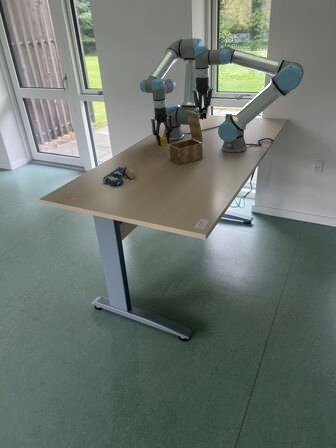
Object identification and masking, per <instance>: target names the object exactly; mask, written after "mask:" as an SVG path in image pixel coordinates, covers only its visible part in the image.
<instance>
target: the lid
mask: <svg viewBox="0 0 336 448" xmlns="http://www.w3.org/2000/svg"><path fill="white" fill-rule="evenodd" d="M197 112H199V110H198V111H196V112H193V111H190V110H187V116H188V121H189V125H188V127H189V131H190V133H191V134H190V136H191V139H194V140H196V141H199V142H201V143H204V139H203V138H204V137H203V133H202V132H203V131H201V130H202V128H201V121H200V119H199V115H201V114H203V113H207V114H208V110H207V111H206V110H203V112H202V113H200V114H198V113H197Z"/></svg>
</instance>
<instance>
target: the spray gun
mask: <svg viewBox="0 0 336 448" xmlns="http://www.w3.org/2000/svg"><path fill="white" fill-rule="evenodd" d="M124 175H125V176H126V177H128V178H129V179H131V180H132V179H135V177H136V172H135V171H133V170H132V169H131V168H128V167H127V165H124V166H117V167H116V168H115V169H113V170H112V171H111V172H108V174H106V175H105V176H104V177H103V179H102V182H103V183H105V184H109V185H111V186H113V187H114V186H115V187H116V186H120V185H122V184H123V183H124V181H125V178H124Z"/></svg>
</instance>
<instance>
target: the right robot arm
mask: <svg viewBox="0 0 336 448" xmlns="http://www.w3.org/2000/svg"><path fill="white" fill-rule="evenodd" d="M221 65H222V66H224V65H234V66H238V67H242V68H246V69H248V70H252V71H256V72H259V73H263V74H267V75H270V76H273V77H271V78H270V83H268V85H267V86H266V87H264V89H262V91H260V92H259V93H258V94H257V95H256V96H255V97H253V98H252V99H251V100H249V102H248V103H246V104H245V106H243V107H242V108H241V109H240V110H239V111H237V112H226V113H225V117H224V118H225V120H224V121H223V122H222V123H221V124H219V125H220V126H219V125H218V126H219V127H218V129H217V135H218V137H219V139H221V140H222V141H223V143H222V146H221V147H222V148H221V149H222V151H223V152H226V153H232V154H236V153H237V154H238V153H242V152H244V151H246V150H247V146H257V147H259V146H262V143H263V142H261V141H266V140H267V141H268V140H269V141H271V142H274V139H272V138H270V137H265V138H260V139H258V140H257V143H246V140H245V130H246V129H247V125H249V124H250V123H251V122H252V121H253V120H254V119H256V118H257V117H259V116H258V115H261V113H262V112H263V111H265V110H266V109H267V108H268V107H270V106H271V105H272V104H273V103H274V102H275V101H277V100H278V99H279V98H280V97H286V96H287V95H288V94H289V93H290V92H291V91H293V90H296V89H297V88H298V87H299V86H300V84H301V83H302V80H303V77H304V73H305V71H304V68H303V65H301V64H300V63H299V62H296V61H291V60H285V59H280V60H277V59H273V58H271V57H266V56H261V55H257V54H255V53H250V52H248V51H242V50H239V49H235V48H232V47H231V46H227V45H226V46H223V47H221V48H218V49H209V46H208V45H204V46H198V47H196V48H195V76H196V89H195V90H194V91H192V93H193V95H194V101H195V107H197V108H198V109H199V114H200V113H202V112H203V110H206V111H207V113H203V114H201V115H200V119H199V120H201V121H204V119H205V120H207V115H208V108H209V107H210V106H211V103H212V93H213V90H214V88H213V87H210V85H209V83H210V71H209V70H210V69H209V68H210V66H221Z"/></svg>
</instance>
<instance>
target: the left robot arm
mask: <svg viewBox="0 0 336 448" xmlns="http://www.w3.org/2000/svg"><path fill="white" fill-rule="evenodd" d="M198 46H205V44H204V41H203V40H202V39H201V38H198V37H197V38H194V37H193V38H179V39H177V40H175V41H173V42H171V44H170V45H169V46H168V47H167V48H166V49H165V50H164V53H163V56H162V58H161V59H160V60H159V62H158V63H157V65H156V66H155V68H154V69H153V70H152V72H151V73H150V75H149V76H148V78H147V79H142V80H140V84H139V88H140V91H141V92H142V93H146V94H152V98H153V99H152V103H153V112H154V118H151V119H150V123H151V130H152V131H151V132H152V135H153V136H155V140H156V141H157V145H158V146H159V147H162V146H161V141H160V137H161V135H160V131H161V130H160V129H161V124H163V125H164V130H163V135H162V137H166V138H167V144H168V145H169V144H171V143H170V142H176V141H180V140H182V139H184V137H185V136H184V135H191V132H183V129H182V126H189V121H188V116H187V110H190V111H193V112H196V111H198V110H199V109H198V108H197V107H195V101H194V95H193V93H192V91H194V90H195V89H196V76H195V48H196V47H198ZM178 60H182V61H183V63H184V65H185V66H184V82H183V83H184V85H183V102H182V103H181V105H180V104H171V105H167V99H166V95H167V94H170V93H172V92H174V91H175V90H176V88H177V87H176V86H177V85H176V81H175V80H174V79H172V78H166V79H163V78H164V77H165V76H166V74H167V73H168V71H169V70H170V68H171V67H172V66H173V64H174V63H176V62H177V61H178ZM197 113H198V114H199V112H197ZM257 117H262V115H261V114H259V115H258V116H257ZM199 120H201V119H200V115H199ZM220 125H221V124H219V125H215V126H213V127H208V128H205V129H201V132H204V131H207V130H212V129H215V128H219V126H220Z"/></svg>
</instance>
